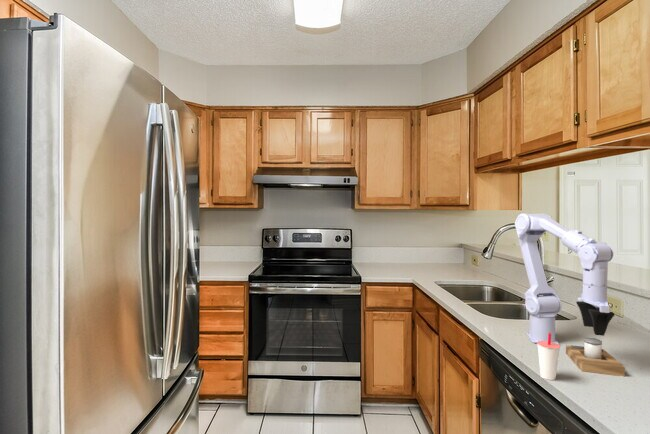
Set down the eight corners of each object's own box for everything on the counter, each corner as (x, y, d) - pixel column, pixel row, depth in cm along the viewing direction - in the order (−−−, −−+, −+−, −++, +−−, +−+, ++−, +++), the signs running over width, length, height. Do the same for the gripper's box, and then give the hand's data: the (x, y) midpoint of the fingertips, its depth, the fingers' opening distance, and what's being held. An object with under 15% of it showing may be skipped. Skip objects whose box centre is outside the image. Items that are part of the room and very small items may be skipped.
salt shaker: (581, 360, 106) (581, 337, 106) (597, 361, 105) (597, 338, 105) (587, 366, 102) (587, 342, 102) (604, 367, 101) (604, 343, 101)
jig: (565, 353, 112) (566, 343, 112) (603, 357, 109) (603, 347, 109) (581, 371, 99) (581, 360, 99) (624, 376, 96) (624, 365, 96)
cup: (564, 381, 93) (565, 336, 93) (545, 382, 93) (546, 336, 92) (550, 372, 99) (550, 329, 98) (531, 372, 98) (532, 329, 98)
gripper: (570, 278, 111) (569, 321, 112) (588, 288, 98) (587, 337, 98) (596, 280, 109) (595, 323, 110) (619, 290, 95) (618, 340, 96)
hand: (593, 330), depth 104 cm, fingers open, 7 cm apart
